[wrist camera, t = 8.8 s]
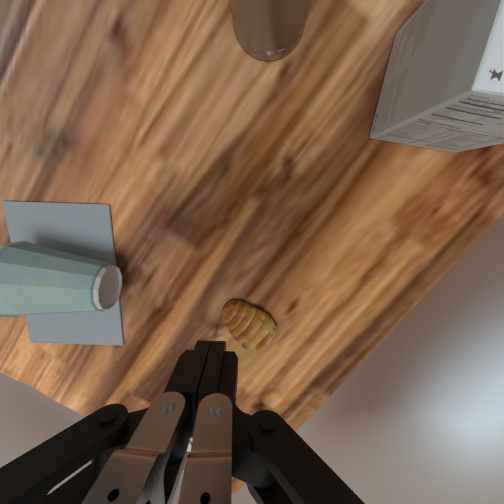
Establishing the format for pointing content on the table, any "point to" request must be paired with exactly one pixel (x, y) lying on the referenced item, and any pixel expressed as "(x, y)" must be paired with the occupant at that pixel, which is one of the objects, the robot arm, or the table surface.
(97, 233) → the mat
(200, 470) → the robot arm
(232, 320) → the pastry
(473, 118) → the supplement box
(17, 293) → the disposable coffee cup
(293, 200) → the table surface
